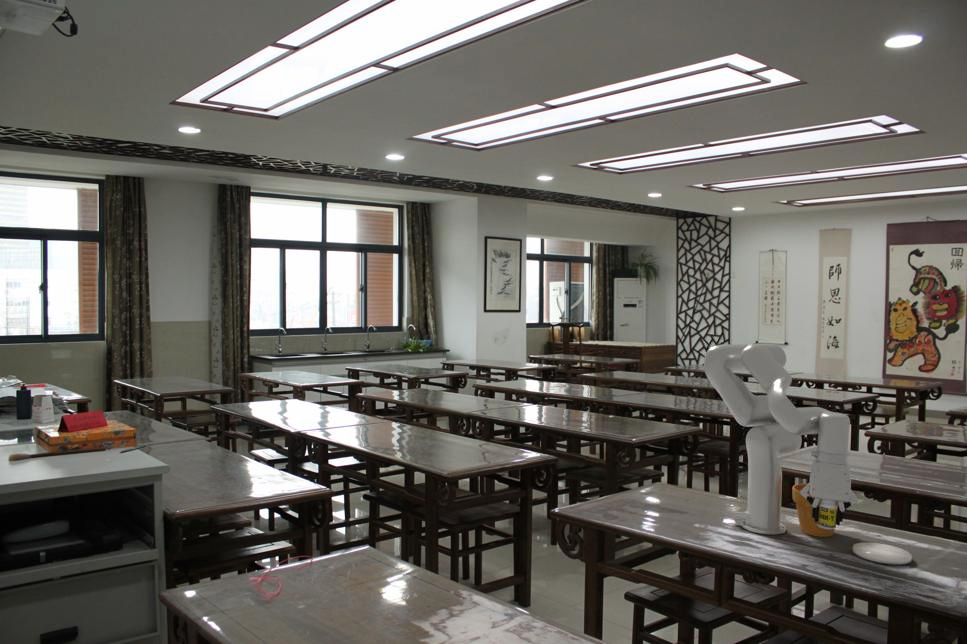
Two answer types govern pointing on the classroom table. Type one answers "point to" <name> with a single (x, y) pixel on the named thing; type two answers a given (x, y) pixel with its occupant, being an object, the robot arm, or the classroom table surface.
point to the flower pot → (808, 514)
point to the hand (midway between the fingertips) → (826, 521)
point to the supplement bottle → (827, 514)
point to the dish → (882, 553)
